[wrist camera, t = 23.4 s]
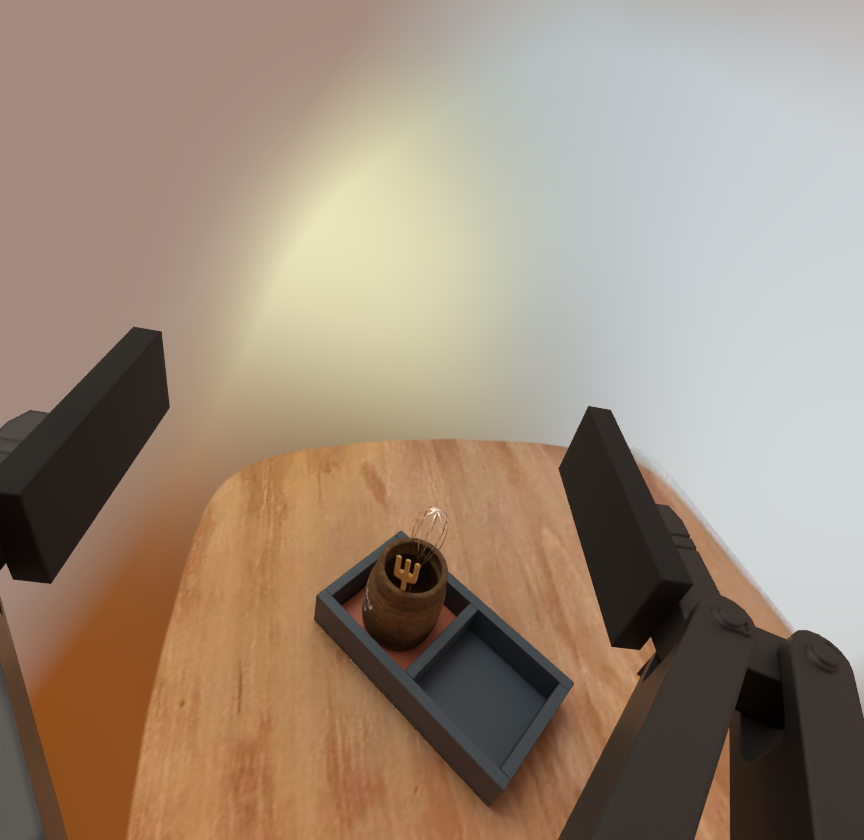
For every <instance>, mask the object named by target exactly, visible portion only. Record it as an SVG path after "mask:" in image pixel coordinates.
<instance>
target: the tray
mask: <svg viewBox="0 0 864 840" xmlns="http://www.w3.org/2000/svg"><path fill="white" fill-rule="evenodd" d="M402 538H409V537H408V536H407V535H406V534H405V533H404V532H403V531H400V532H398V533H397V534H396V535H395V536H393V537H392V538H391V539H389V540H388V541H387V542H385V543H384V544H383V545H381V546H380V547H379V548H378V549H376V550H375V551H374V552H372V553H371V554H370V555H368V556H367V557H366V558H365V559H363V560H362V561H361V562H359V563H358V564H357V565H355V566H354V567H353V568H352V569H350V570H349V571H348V572H346V573H345V574H344V575H342V576H341V577H340V578H338V579H337V580H336V581H335V582H333V583H332V584H331V585H329V586H328V587H327V588H326V589H324V590H323V591H321V592H320V593H319V594H317V597H316V606H315V616H314V619H315V620H316V621H317V623H318V624H319V625H320V626H321V627H322V628H323V629H324V630H325V631H326V632H327V633H328V634H329V635H330V637H331V638H332V639H333V640H334V641H335V642H336V643H337V644H338V645H339V646H340V647H341V648H342V649H343V651H344V652H345V653H346V654H347V655H348V656H349V657H350V658H351V659H352V660H353V661H354V662H355V663H356V665H357V666H358V667H359V668H360V669H361V670H362V671H363V672H364V673H365V674H366V675H367V676H368V677H369V679H370V680H371V681H372V682H373V683H374V684H375V685H376V686H377V687H378V688H379V689H380V690H381V692H382V693H383V694H384V695H385V696H386V697H387V698H388V699H389V700H390V701H391V702H392V703H393V704H394V706H395V707H396V708H397V709H398V710H399V711H400V712H401V713H402V714H403V715H404V716H405V717H406V718H407V720H408V721H409V722H410V723H411V724H412V725H413V726H414V727H415V728H416V729H417V730H418V731H419V732H420V734H421V735H422V736H423V737H424V738H425V739H426V740H427V741H428V742H429V743H430V744H431V745H432V746H433V748H434V749H435V750H436V751H437V752H438V753H439V754H440V755H441V756H442V757H443V758H444V759H445V761H446V762H447V763H448V764H449V765H450V766H451V767H452V768H453V769H454V770H455V771H456V772H457V773H458V775H459V776H460V777H461V778H462V779H463V780H464V781H465V782H466V783H467V784H468V785H469V786H470V787H471V789H472V790H473V791H474V792H475V793H476V794H477V795H478V796H479V797H480V798H481V799H482V800H483V801H484V803H485V804H486V805H487V806H489V805H490V804H491V803H492V802H493V801H494V800H495V799H496V798H497V797H498V796H499V795H500V794H501V793H502V792H503V791H504V790H505V788H506V787H507V785H508V784H509V782H510V780H511V779H512V778H513V776H514V775H515V773H516V772H517V770H518V769H519V767H520V766H521V764H522V762H523V761H524V759H525V758H526V756H527V755H528V753H529V752H530V750H531V749H532V747H533V746H534V744H535V743H536V741H537V740H538V738H539V736H540V735H541V733H542V732H543V730H544V729H545V727H546V726H547V724H548V723H549V721H550V720H551V718H552V717H553V715H554V714H555V712H556V711H557V709H558V707H559V706H560V704H561V703H562V701H563V700H564V698H565V697H566V695H567V694H568V692H569V691H570V689H571V688H572V686H573V685H574V682H573V681H572V680H570V679H569V678H568V677H567V676H566V675H565V674H564V673H562V672H561V671H560V670H559V669H558V668H557V667H556V666H555V665H553V664H552V663H551V662H550V661H549V660H548V659H547V658H545V657H544V656H543V655H542V654H541V653H540V652H539V651H538V650H536V649H535V648H534V647H533V646H532V645H531V644H530V643H528V642H527V641H526V640H525V639H524V638H523V637H522V636H521V635H519V634H518V633H517V632H516V631H515V630H514V629H513V628H511V627H510V626H509V625H508V624H507V623H506V622H505V621H504V620H502V619H501V618H500V617H499V616H498V615H497V614H496V613H494V612H493V611H492V610H491V609H490V608H489V607H488V606H487V605H485V604H484V603H483V602H482V601H481V600H480V599H479V598H477V597H476V596H475V595H474V594H473V593H472V592H471V591H470V590H468V589H467V588H466V587H465V586H464V585H463V584H462V583H460V582H459V581H458V580H457V579H456V578H455V577H454V576H453V575H451V574H450V573H449V572H448V576H447V584H446V595H445V600H444V604H443V607H442V609H441V612H440V614H439V617H438V619H437V622H436V624H435V626H434V628H433V630H432V632H431V633H430V635H429V636H428V637H427V638H426V639H425V640H424V641H423V642H422V643H421V644H419V645H417V646H415V647H413V648H410V649H405V650H395V649H390V648H387V647H385V646H383V645H381V644H379V643H378V642H376V641H375V640H374V639H373V638H372V637H371V636H370V634H369V633H368V631H367V630H366V628H365V625H364V622H363V617H362V605H363V599H364V594H365V590H366V585H367V581H368V578H369V575H370V573H371V571H372V569H373V567H374V566H375V564H376V563H377V560H378V558H379V556H380V554H381V553H382V551H383V550H384V549H385V547H386V546H388V545H389V544H390V543H392V542H393V541H396V540H398V539H402Z"/></svg>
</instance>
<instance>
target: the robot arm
mask: <svg viewBox="0 0 864 840" xmlns="http://www.w3.org/2000/svg"><path fill="white" fill-rule="evenodd" d="M169 408H170V407H169V397H168V387H167V378H166V369H165V359H164V350H163V341H162V332H161V331H155V330H150V329H143V328H138V327H133V328H132V329H131V330H130V331H129V332H128V333H127V334H126V335H125V336H124V337H123V338H122V339H121V340H120V341H119V342H118V343H117V344H116V345H115V346H114V347H113V348H112V350H110V351H109V353H108V354H107V355H106V356H105V357H104V358H103V359H102V360H101V361H100V362H99V363H98V364H97V365H96V366H95V367H94V368H93V369H92V370H91V371H90V372H89V373H88V374H87V375H86V376H85V377H84V378H83V379H82V380H81V382H79V383H78V384H77V385H76V386H75V387H74V388H73V390H71V392H70V393H69V394H68V395H67V396H66V397H65V398H64V399H63V400H62V401H61V402H60V403H59V404H58V405H57V406H56V407H55V408H54V409H53V410H52V411H51V412H50V413H45V412H39V411H32V410H30V411H28V412H26V413H24V414H22V415H20V416H18V417H16V418H14V419H12V420H10V421H8V422H7V423H6V424H5V425H4V426H3V427H1V428H0V570H1V569H2V567H3V566H4V565H5V564H7V566H8V568H9V571H10V573H11V576H12V578H13V579H14V580H22V581H31V582H40V583H49V584H51V583H52V581H53V580H54V578H55V577H56V576H57V574H58V573H59V571H60V570H61V568H62V567H63V565H64V564H65V562H66V561H67V559H68V558H69V556H70V555H71V553H72V552H73V550H74V549H75V547H76V546H77V544H78V543H79V541H80V540H81V538H82V537H83V535H84V534H85V533H86V531H87V530H88V528H89V527H90V525H91V524H92V522H93V521H94V519H95V518H96V516H97V515H98V513H99V512H100V510H101V509H102V507H103V506H104V504H105V503H106V501H107V500H108V498H109V497H110V495H111V494H112V492H113V491H114V489H115V488H116V487H117V485H118V484H119V482H120V481H121V479H122V477H123V476H124V475H125V473H126V472H127V470H128V469H129V467H130V466H131V464H132V463H133V461H134V460H135V458H136V457H137V455H138V454H139V452H140V451H141V449H142V448H143V446H144V445H145V444H146V442H147V441H148V439H149V438H150V436H151V435H152V433H153V432H154V430H155V429H156V427H157V426H158V424H159V423H160V421H161V420H162V418H163V417H164V415H165V414H166V412H167V410H168V409H169ZM559 472H560V475H561V478H562V482H563V485H564V488H565V492H566V495H567V499H568V502H569V505H570V509H571V512H572V515H573V519H574V522H575V525H576V529H577V532H578V536H579V539H580V542H581V546H582V549H583V552H584V556H585V559H586V563H587V566H588V569H589V573H590V576H591V579H592V583H593V586H594V589H595V593H596V596H597V600H598V603H599V606H600V610H601V613H602V616H603V620H604V623H605V627H606V630H607V633H608V637H609V640H610V643H611V647H618V648H627V649H636V650H640V649H641V648H642V647H643V646H644V644H645V643H646V642H647V641H648V639H649V638H650V637H651V638H652V641H653V644H654V646H655V649H656V652H655V653H654V654H653V656H652V657H651V658H650V659H649V660H648V661H647V663H646V664H645V665H644V666H643V667H642V668H641V670H640V671H639V672H638V673H637V674H638V675H639V676H640V679H639V681H638V683H637V685H636V687H635V689H634V691H633V693H632V695H631V697H630V699H629V701H628V703H627V705H626V707H625V709H624V711H623V713H622V715H621V717H620V719H619V721H618V723H617V725H616V727H615V729H614V730H613V732H612V734H611V736H610V738H609V740H608V742H607V744H606V746H605V748H604V750H603V752H602V754H601V756H600V758H599V760H598V762H597V764H596V766H595V768H594V770H593V772H592V774H591V776H590V778H589V780H588V782H587V784H586V786H585V788H584V790H583V791H582V793H581V795H580V797H579V799H578V801H577V803H576V805H575V807H574V809H573V811H572V813H571V815H570V817H569V819H568V821H567V823H566V825H565V827H564V829H563V831H562V833H561V835H560V837H559V839H558V840H694V838H695V835H696V832H697V829H698V825H699V822H700V819H701V816H702V812H703V809H704V806H705V803H706V800H707V796H708V793H709V790H710V787H711V783H712V780H713V777H714V774H715V771H716V767H717V764H718V761H719V758H720V754H721V751H722V748H723V745H724V742H725V738H726V735H727V732H728V729H729V725H730V840H864V717H863V713H862V709H861V704H860V700H859V695H858V691H857V687H856V682H855V677H854V673H853V670H852V668H851V666H850V663H849V661H848V660H847V659H846V658H845V656H844V655H843V654H842V652H841V651H840V650H839V649H838V648H837V647H835V646H834V645H833V644H832V643H831V642H830V641H828V640H827V639H825V638H823V637H822V636H820V635H819V634H816V633H813V632H810V631H807V630H798V631H796V632H795V633H794V634H792V635H791V636H790V637H789V638H788V639H787V640H786V639H784V638H782V637H779V636H777V635H774V634H772V633H769V632H767V631H764V630H762V629H760V628H757V627H755V625H754V623H753V621H752V619H751V618H750V617H749V615H748V614H747V613H746V612H745V610H744V609H742V608H741V607H740V606H739V605H737V604H736V603H735V602H733V601H731V600H730V599H728V598H726V597H724V596H721V595H720V593H719V591H718V589H717V587H716V585H715V583H714V581H713V580H712V578H711V576H710V574H709V572H708V570H707V568H706V566H705V564H704V562H703V560H702V558H701V556H700V554H699V552H698V551H696V547H695V545H694V543H693V541H692V539H690V535H689V533H688V531H687V529H686V527H685V525H684V523H683V521H682V520H681V519H680V518H679V517H678V516H677V514H676V513H675V512H674V511H673V510H672V509H671V508H670V507H669V506H667V505H660V504H655V502H654V500H653V497H652V495H651V493H650V491H649V489H648V487H647V485H646V483H645V481H644V479H643V477H642V474H641V472H640V470H639V468H638V466H637V464H636V462H635V460H634V458H633V456H632V453H631V451H630V449H629V447H628V445H627V443H626V441H625V439H624V437H623V435H622V433H621V431H620V428H619V426H618V425H617V422H616V420H615V418H614V416H613V414H612V412H611V410H608V409H602V408H597V407H591V406H588V408H587V410H586V412H585V415H584V416H583V419H582V421H581V423H580V425H579V427H578V429H577V431H576V433H575V436H574V438H573V440H572V442H571V444H570V446H569V448H568V450H567V452H566V454H565V456H564V459H563V461H562V463H561V465H560V467H559ZM0 840H68V838H67V834H66V831H65V827H64V823H63V820H62V817H61V813H60V809H59V806H58V802H57V798H56V795H55V791H54V787H53V784H52V781H51V777H50V773H49V770H48V766H47V762H46V759H45V755H44V752H43V748H42V744H41V741H40V738H39V734H38V730H37V727H36V723H35V719H34V716H33V712H32V709H31V705H30V701H29V698H28V694H27V691H26V687H25V684H24V680H23V676H22V673H21V669H20V666H19V662H18V659H17V655H16V651H15V648H14V644H13V641H12V637H11V633H10V630H9V627H8V623H7V619H6V615H5V612H4V608H3V605H2V601H1V598H0Z"/></svg>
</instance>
